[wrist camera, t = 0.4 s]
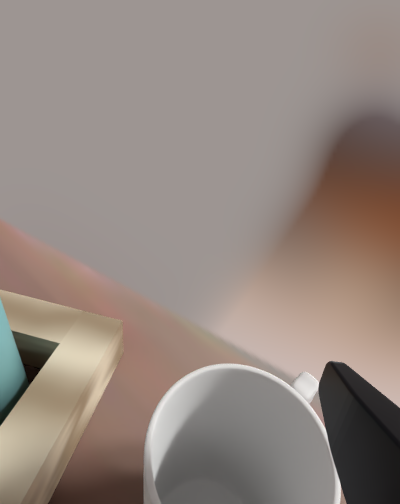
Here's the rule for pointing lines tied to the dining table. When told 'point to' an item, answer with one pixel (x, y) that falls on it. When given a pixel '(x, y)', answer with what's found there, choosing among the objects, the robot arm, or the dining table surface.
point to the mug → (238, 441)
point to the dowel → (9, 369)
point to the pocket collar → (53, 392)
